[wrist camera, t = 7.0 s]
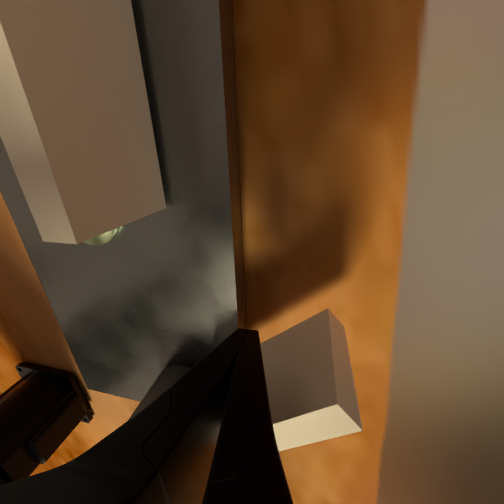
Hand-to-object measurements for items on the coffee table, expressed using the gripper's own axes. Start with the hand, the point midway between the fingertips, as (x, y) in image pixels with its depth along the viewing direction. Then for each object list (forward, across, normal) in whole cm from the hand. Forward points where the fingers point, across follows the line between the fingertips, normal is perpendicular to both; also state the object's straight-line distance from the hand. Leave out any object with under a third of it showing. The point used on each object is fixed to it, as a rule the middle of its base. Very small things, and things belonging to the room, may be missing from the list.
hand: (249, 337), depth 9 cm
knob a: (+2, +1, +5) cm, 5 cm away
